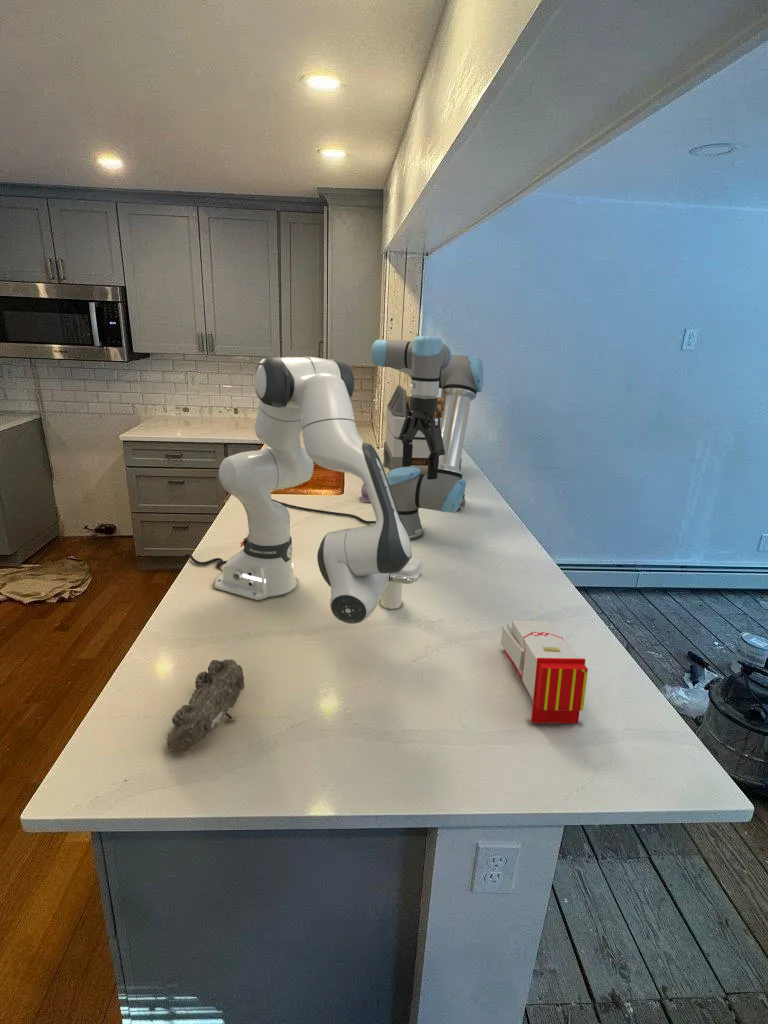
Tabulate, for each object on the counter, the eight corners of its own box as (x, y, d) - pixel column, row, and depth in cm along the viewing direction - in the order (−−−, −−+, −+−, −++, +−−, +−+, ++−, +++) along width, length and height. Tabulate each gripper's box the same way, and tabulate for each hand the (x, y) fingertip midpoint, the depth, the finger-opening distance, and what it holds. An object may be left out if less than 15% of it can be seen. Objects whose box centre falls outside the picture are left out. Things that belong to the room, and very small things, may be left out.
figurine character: (465, 515, 224) (460, 499, 237) (467, 498, 221) (462, 483, 234) (448, 515, 224) (444, 499, 237) (450, 498, 220) (445, 482, 234)
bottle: (405, 604, 152) (409, 540, 146) (390, 610, 149) (394, 545, 143) (391, 597, 156) (394, 534, 150) (376, 602, 153) (379, 539, 146)
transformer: (382, 463, 289) (386, 382, 275) (445, 464, 293) (451, 384, 279) (390, 482, 257) (394, 392, 243) (460, 483, 261) (468, 394, 247)
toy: (547, 606, 135) (596, 665, 106) (541, 658, 138) (589, 729, 108) (496, 604, 134) (532, 664, 105) (492, 657, 137) (526, 729, 108)
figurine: (365, 504, 228) (366, 468, 223) (354, 496, 236) (355, 461, 231) (386, 501, 232) (387, 466, 227) (375, 494, 240) (376, 460, 235)
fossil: (192, 660, 117) (244, 628, 112) (224, 691, 120) (276, 661, 115) (142, 746, 98) (202, 712, 93) (182, 779, 101) (242, 748, 96)
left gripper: (417, 569, 120) (428, 544, 132) (325, 556, 124) (344, 533, 136) (415, 595, 122) (426, 569, 134) (325, 582, 126) (343, 557, 139)
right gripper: (389, 390, 161) (386, 462, 168) (437, 404, 140) (431, 486, 148) (412, 389, 164) (407, 460, 172) (462, 403, 144) (455, 483, 151)
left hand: (384, 551), depth 135 cm, fingers open, 8 cm apart
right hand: (419, 472), depth 160 cm, fingers open, 13 cm apart
